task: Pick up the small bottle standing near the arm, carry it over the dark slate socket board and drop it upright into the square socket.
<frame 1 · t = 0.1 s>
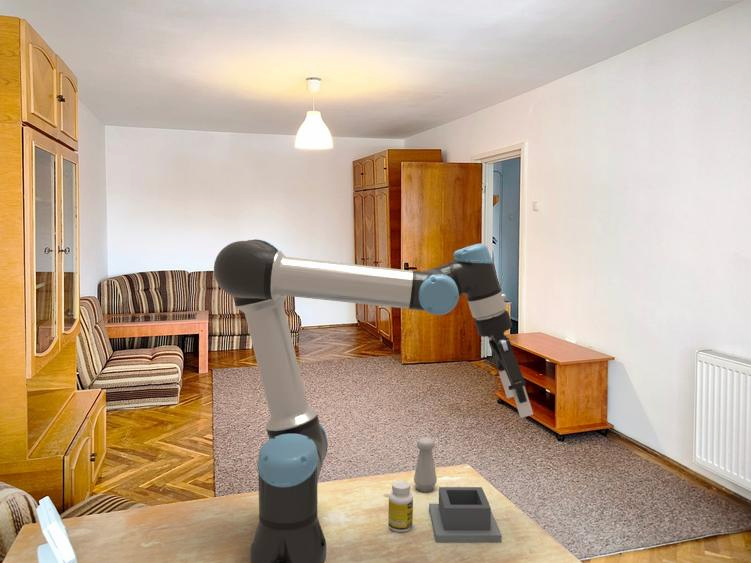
hand: (519, 405, 124), 28 cm above the table, tool tilted 20°, fingers open, 13 cm apart
supplement bottle: (400, 527, 126), on the table
socket board: (463, 525, 127), on the table
salt shaker: (425, 489, 145), on the table
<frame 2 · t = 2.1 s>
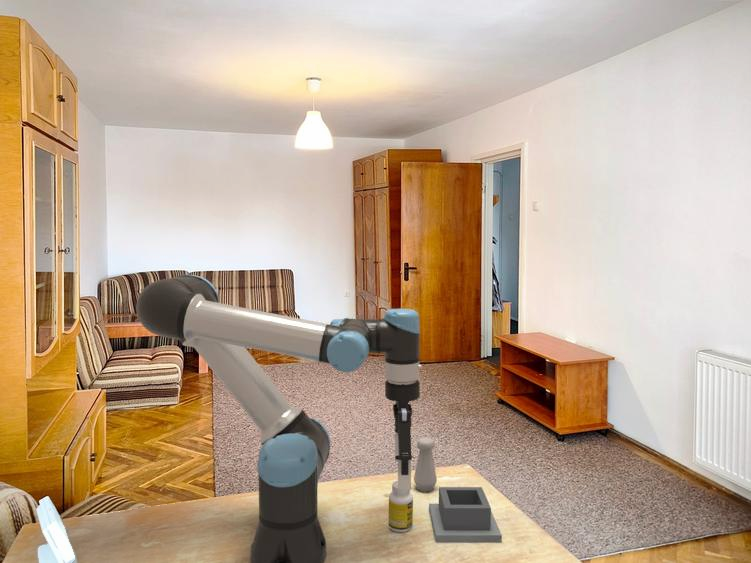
hand: (402, 474, 125), 12 cm above the table, tool pointing down, fingers open, 13 cm apart
nothing on the table moved.
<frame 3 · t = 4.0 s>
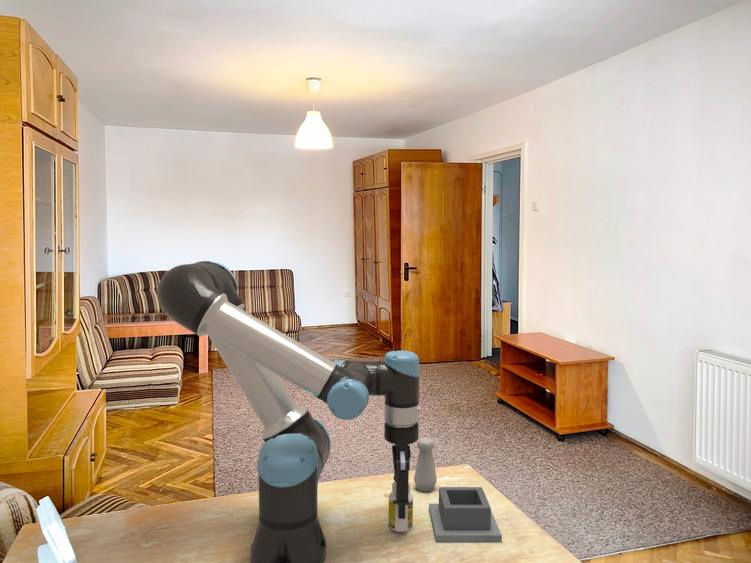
hand: (400, 523, 126), 1 cm above the table, tool pointing down, fingers closed on supplement bottle, 5 cm apart
supplement bottle: (400, 527, 126), on the table, touching gripper
everything else where it was.
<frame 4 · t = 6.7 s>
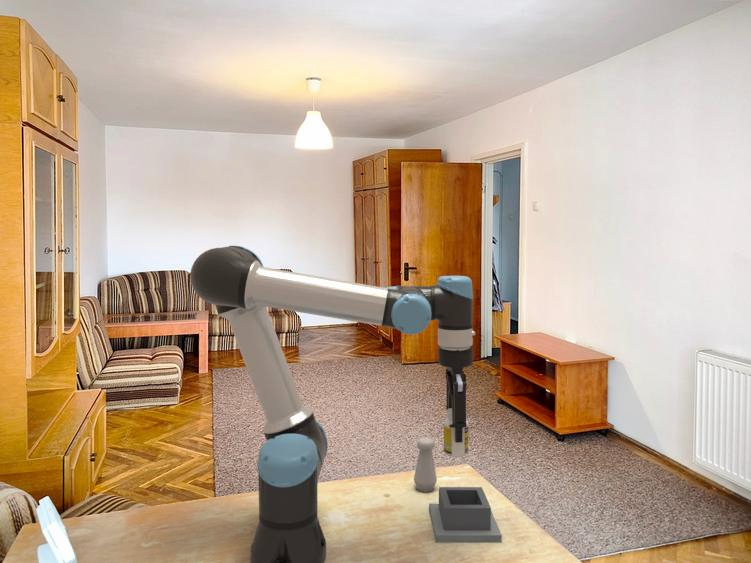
hand: (455, 449, 125), 18 cm above the table, tool pointing down, fingers closed on supplement bottle, 5 cm apart
supplement bottle: (455, 454, 125), point 17 cm above the table, touching gripper
everything else where it was.
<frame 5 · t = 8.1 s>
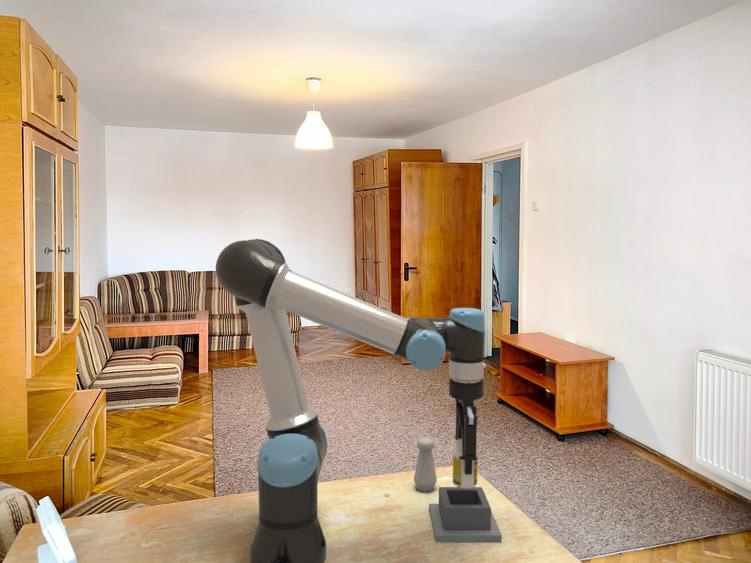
hand: (464, 480, 126), 10 cm above the table, tool pointing down, fingers closed on supplement bottle, 5 cm apart
supplement bottle: (464, 484, 126), point 9 cm above the table, touching gripper
everything else where it was.
when the fingers open (8 cm above the table, at t = 9.3 s): supplement bottle drops 5 cm, resting on socket board.
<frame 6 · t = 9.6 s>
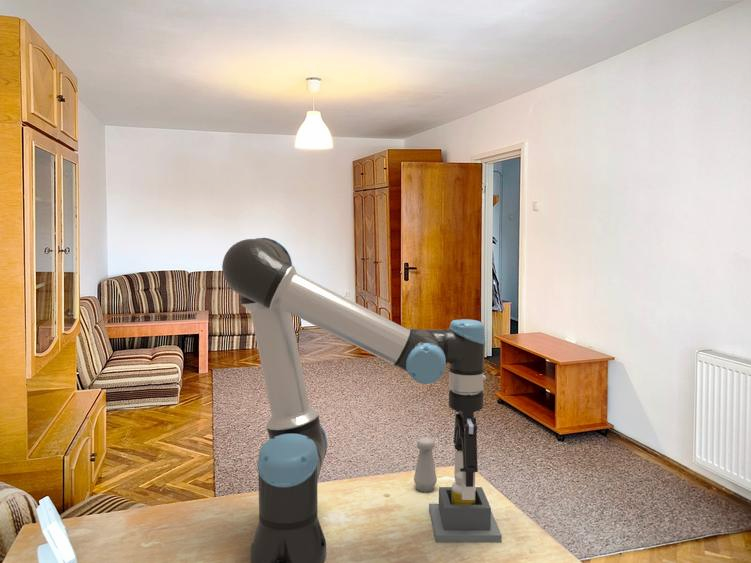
hand: (464, 488, 126), 9 cm above the table, tool pointing down, fingers open, 9 cm apart
supplement bottle: (463, 518, 127), point 1 cm above the table, touching socket board
everything else where it was.
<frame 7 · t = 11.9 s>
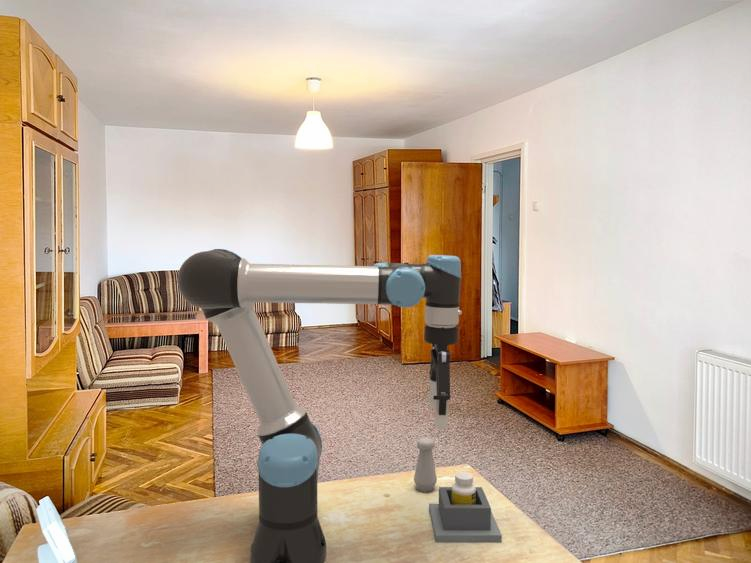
hand: (437, 418, 127), 24 cm above the table, tool pointing down, fingers open, 13 cm apart
nothing on the table moved.
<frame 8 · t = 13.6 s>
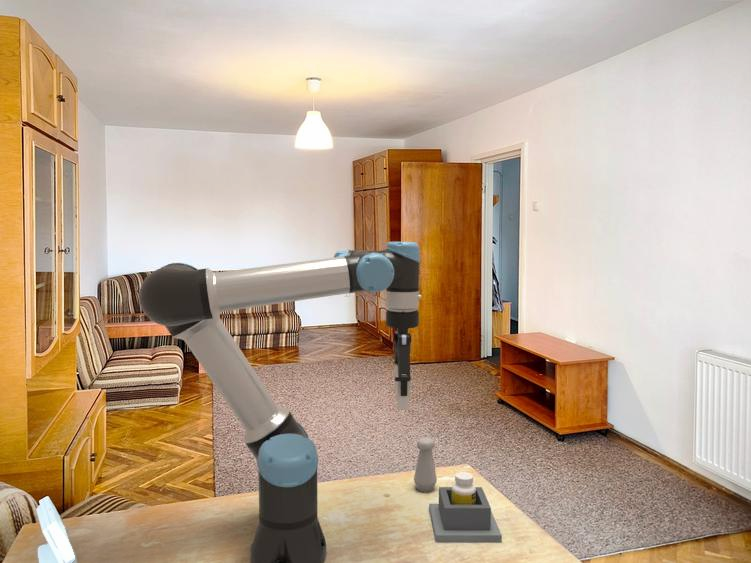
hand: (401, 400, 131), 27 cm above the table, tool pointing down, fingers open, 13 cm apart
nothing on the table moved.
at the end: supplement bottle 0.5 cm off-centre on the socket board, point 1.3 cm above the socket board's base; supplement bottle tilted 0°; the gripper is holding nothing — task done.
